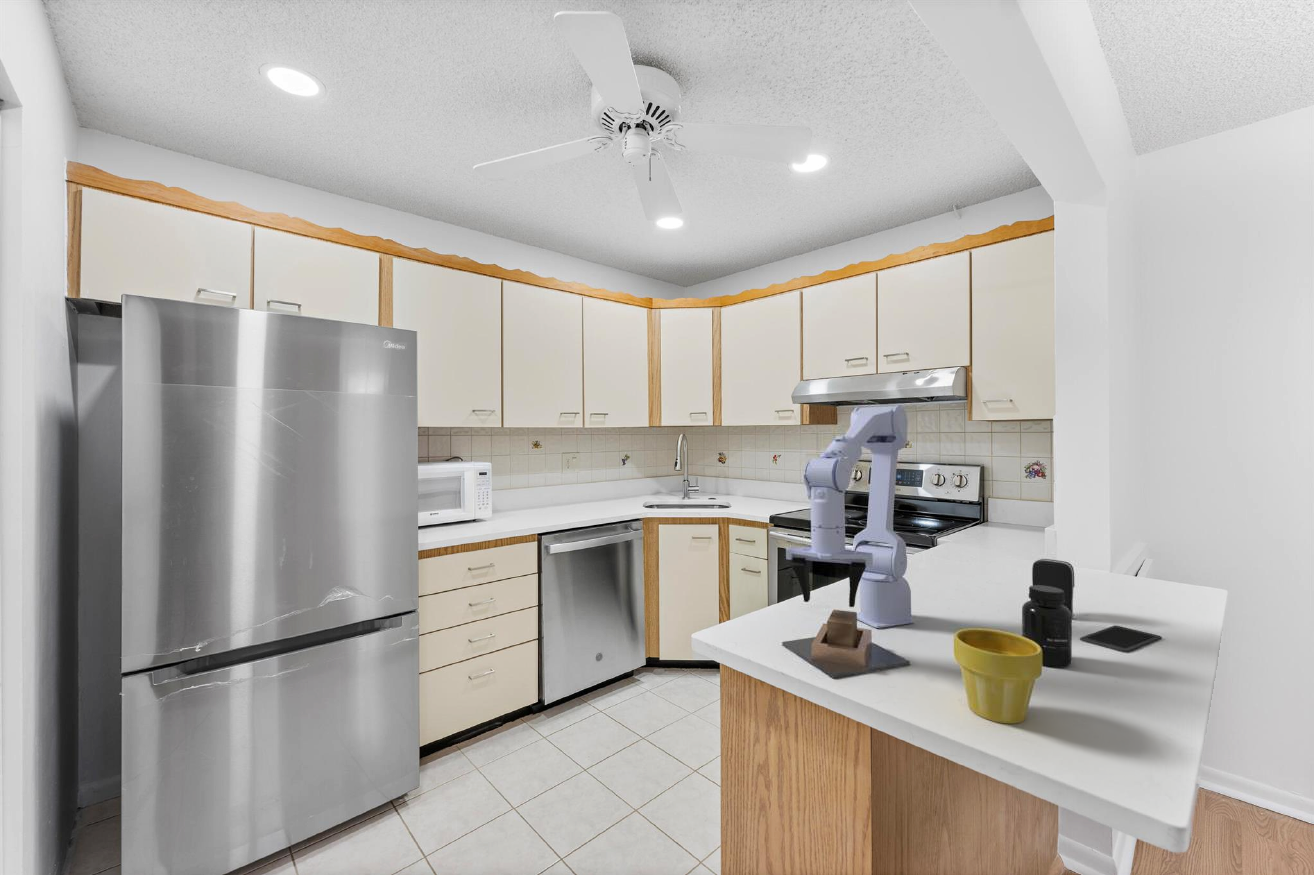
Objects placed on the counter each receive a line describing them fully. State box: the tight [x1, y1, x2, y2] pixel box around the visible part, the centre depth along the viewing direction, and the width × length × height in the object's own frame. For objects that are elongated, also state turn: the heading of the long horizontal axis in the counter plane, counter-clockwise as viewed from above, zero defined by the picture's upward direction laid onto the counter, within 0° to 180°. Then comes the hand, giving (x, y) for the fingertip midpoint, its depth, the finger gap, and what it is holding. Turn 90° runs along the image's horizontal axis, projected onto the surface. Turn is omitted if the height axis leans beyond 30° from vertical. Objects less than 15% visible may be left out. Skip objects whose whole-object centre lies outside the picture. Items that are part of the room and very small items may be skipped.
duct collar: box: [781, 623, 911, 680], centre depth 96 cm, size 15×15×3 cm
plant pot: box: [953, 627, 1043, 725], centre depth 75 cm, size 10×10×10 cm
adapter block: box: [826, 609, 858, 648], centre depth 96 cm, size 4×7×6 cm, turn 154°
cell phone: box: [1079, 625, 1163, 654], centre depth 101 cm, size 7×14×1 cm, turn 118°
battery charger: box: [1031, 558, 1075, 619], centre depth 115 cm, size 7×4×11 cm, turn 43°
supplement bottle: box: [1021, 584, 1073, 668], centre depth 92 cm, size 7×7×12 cm
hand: (829, 602), depth 97 cm, fingers open, 7 cm apart
